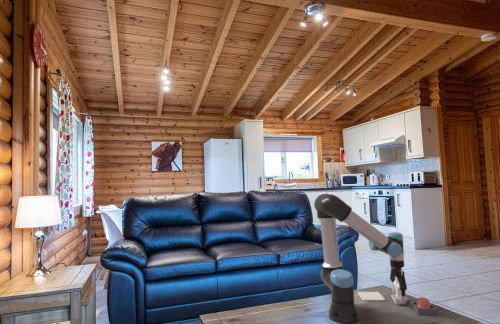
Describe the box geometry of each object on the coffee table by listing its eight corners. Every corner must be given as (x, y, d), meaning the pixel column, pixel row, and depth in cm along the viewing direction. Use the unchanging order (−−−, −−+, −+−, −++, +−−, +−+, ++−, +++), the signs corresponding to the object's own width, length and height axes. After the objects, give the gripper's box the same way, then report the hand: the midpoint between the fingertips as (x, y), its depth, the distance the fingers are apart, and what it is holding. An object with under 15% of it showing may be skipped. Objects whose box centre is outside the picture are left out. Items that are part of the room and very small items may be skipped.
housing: (418, 314, 173) (418, 308, 173) (410, 307, 183) (410, 301, 183) (437, 314, 172) (437, 308, 173) (428, 307, 182) (428, 301, 183)
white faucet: (401, 299, 194) (400, 274, 194) (408, 306, 184) (407, 279, 185) (389, 299, 194) (388, 274, 195) (396, 306, 185) (394, 279, 185)
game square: (363, 300, 194) (363, 299, 194) (357, 292, 207) (357, 291, 207) (385, 300, 193) (385, 299, 193) (378, 292, 206) (378, 291, 206)
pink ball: (420, 313, 174) (419, 300, 175) (414, 308, 181) (413, 295, 182) (433, 313, 174) (432, 300, 174) (427, 308, 181) (426, 295, 181)
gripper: (412, 265, 178) (414, 305, 177) (395, 254, 202) (397, 289, 201) (398, 265, 179) (400, 305, 178) (383, 254, 203) (385, 289, 202)
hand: (398, 297), depth 189 cm, fingers open, 12 cm apart
